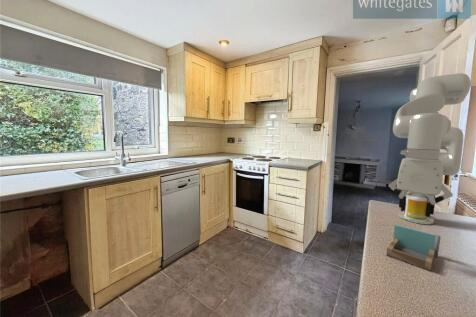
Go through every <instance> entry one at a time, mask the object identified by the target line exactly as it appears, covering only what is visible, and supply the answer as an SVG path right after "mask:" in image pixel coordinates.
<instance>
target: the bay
mask: <svg viewBox="0 0 476 317" xmlns="http://www.w3.org/2000/svg"><path fill="white" fill-rule="evenodd" d="M393 238H394V237H393ZM398 243H399V239H397V238H394V240H393V239H392V241H391V242H390V244H389V245H388V246H387V248H386V257H390V258H392V259H395V260H397V261H400V262H403V263H406V264H409V265H412V266H414V267H417V268H419V269H422V270H425V271H427V272H431V269H432V266H433V262H434V258H435V257H434V254H435V250H433V249H430V250H429V253H428V254H425V253H422V252H419V251H416V250H413V249H410V248H407V247H404V246H401V245H398Z"/></svg>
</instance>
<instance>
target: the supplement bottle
mask: <svg viewBox="0 0 476 317" xmlns="http://www.w3.org/2000/svg"><path fill="white" fill-rule="evenodd" d="M428 202H429V198H428V197H427V196H425V194H420V193H414V192H410V193H408V194H407V195H406V200H405V209H404V217H405V218H407V219H410V220H413V221H419V222H424V221H426V218H427V216H426V213H427V205H428Z"/></svg>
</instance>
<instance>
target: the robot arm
mask: <svg viewBox="0 0 476 317" xmlns="http://www.w3.org/2000/svg"><path fill="white" fill-rule="evenodd" d="M471 83H472V81H471V78H470V76H469V75H468V74H466V73H463V72H460V73H451V74H443V75H434V76H429V77H426V78H424V79H422V80H421V81H420V82H419V83H418V85H417V87H415V88H413V89H412V90H411V92H410V93H409V101H408V102H407V103H405V104H403V105H402V106H401V107H400V108H399V109H398V110H397V112H396V114H395V116H394V120H393V125H392V132H393V134H394V136H395V137H397V138H400V139H407V144H406V149H404V150H403V149H402V150H400V155H402V156H404V158H402V159H401V162H400V164H399V170H398V174H397V178H396V179H394V180H393V181H392V182H390V183H388V188H390V190H391V191H393V193H394V194H396V196H397V197H398V198H399V201H398V202H399V203H398V208H400V212H398V217H399V218H400V219H403V220H404V221H408V222H411V223H415V224H421V225H433V224H434V223H435V220H434V219H433V217H431V215H434V214H435V213H434V212H435V205H436V204H438V203H441V202H443V201H445V200H448V199H449V198H452V197H453V196H454V195H453V193H452V192H451V190H449V188H448V187H447V186H446V185H445V184H444V183H443V176H444V175H445V176H454V175H457V174H458V173H459V172H460V169H461V162H462V157H463V156H462V155H463V153H462V152H463V146H464V133H463V130H462V129H461V128H460V127H456V126H455V127H453V126H452V120H450V119H449V117H448V116H446V115H444V114H442V113H439V111H441V110H442V109H443V108H444V106H450V105H458V104H462V103H463V102H464V101H465V99H466V97H467V96H468V94H469V93H470V89H471V85H472V84H471ZM441 150H444V151H446V152H441ZM410 192H414V193H420V194H425V196H427V197H428V198H429V202H428V205H427V213H426V216H427V218H426V221H424V222H419V221H413V220H410V219H407V218H405V217H404V209H405V200H406V195H407V194H408V193H410ZM441 192H442V193H443V194H441ZM440 194H441V195H440ZM438 195H439V196H438ZM436 196H437V197H436Z"/></svg>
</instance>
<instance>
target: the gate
mask: <svg viewBox="0 0 476 317" xmlns="http://www.w3.org/2000/svg"><path fill="white" fill-rule="evenodd" d="M393 231H394V232H393V239H392V241H393V240H394V238H397V239H399V243H398V245H401V246H404V247H407V248H410V249H413V250H416V251H419V252H422V253H425V254H428V253H429V250H430V249H433V250H435V254H434V258H436V259H437V258H439V257H438V256H439V252H440V245H441V244H440V243H441V238H442V237H441V236H440V235H439V234H433V233H429V232H426V231H422V230H418V229H414V228H411V227H407V226H402V225H399V224H394V230H393Z"/></svg>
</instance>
